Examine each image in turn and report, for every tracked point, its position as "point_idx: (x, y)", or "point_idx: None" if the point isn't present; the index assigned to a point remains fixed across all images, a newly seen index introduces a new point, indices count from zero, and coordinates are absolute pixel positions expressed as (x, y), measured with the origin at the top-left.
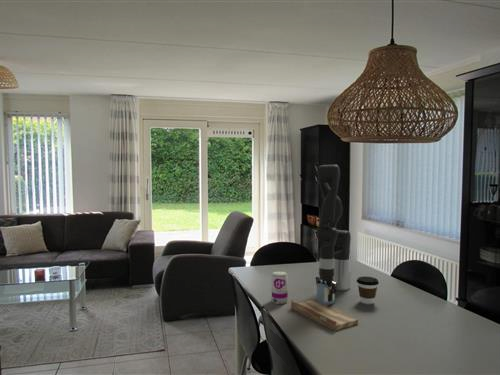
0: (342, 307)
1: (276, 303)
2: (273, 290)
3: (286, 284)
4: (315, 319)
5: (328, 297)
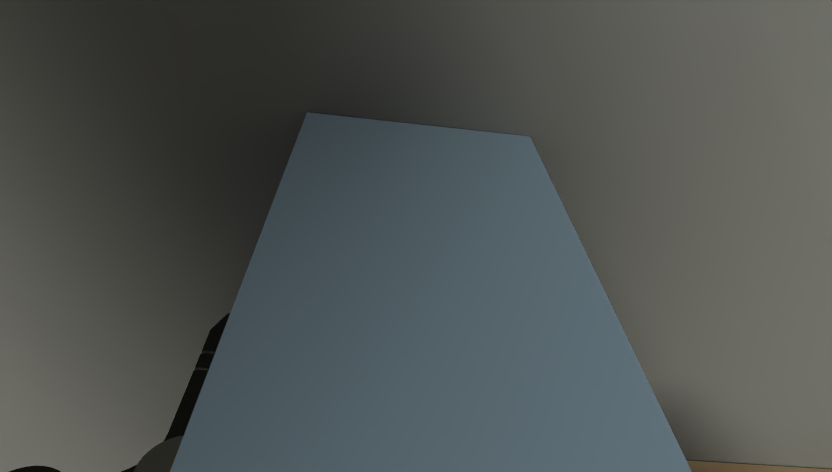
0: (797, 216)
1: None
2: None
3: None
4: None
5: None
